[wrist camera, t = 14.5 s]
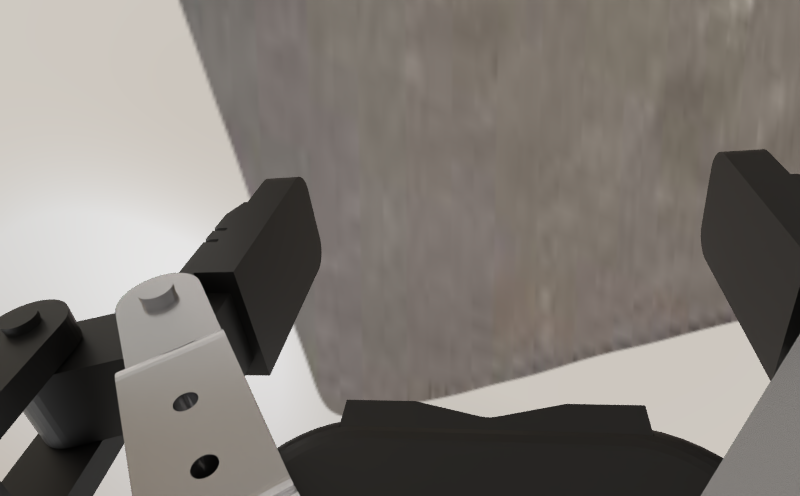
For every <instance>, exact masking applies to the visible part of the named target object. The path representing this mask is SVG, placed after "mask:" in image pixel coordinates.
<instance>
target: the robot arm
mask: <svg viewBox="0 0 800 496" xmlns="http://www.w3.org/2000/svg"><path fill="white" fill-rule="evenodd" d="M701 244H702V251H703V255H704V257H705V260H706V262H707V263H708V265H709V267H710V269H711V271H712V273H713V275H714V276H715V278H716V280H717V282H718V284H719V286H720V288H721V289H722V291H723V293H724V295H725V297H726V299H727V301H728V302H729V304H730V306H731V308H732V310H733V312H734V314H735V316H736V317H737V319H738V321H739V323H740V325H741V326H742V329H743V330H744V332H745V334H746V336H747V338H748V340H749V342H750V343H751V345H752V347H753V349H754V351H755V353H756V354H757V356H758V358H759V360H760V362H761V364H762V366H763V368H764V369H765V371H766V373H767V375H768V377H769V379H770V381H771V382H770V384H769V385H768V387H767V388H766V390H765V392H764V393H763V395H762V397H761V398H760V400H759V401H758V403H757V405H756V406H755V408H754V410H753V411H752V413H751V415H750V416H749V418H748V419H747V421H746V423H745V424H744V426H743V427H742V429H741V431H740V432H739V434H738V436H737V437H736V439H735V441H734V442H733V444H732V445H731V447H730V449H729V450H728V452H727V454H726V455H725V457H724V458H722V457H720V456H718V455H716V454H714V453H712V452H710V451H709V450H706V449H705V448H703V447H701V446H698V445H696V444H693V443H691V442H689V441H686V440H684V439H681V438H678V437H675V436H672V435H669V434H666V433H662V432H657V431H653V430H652V429H651V425H650V421H649V418H648V414H647V410H646V407H645V406H641V405H639V406H638V405H586V404H564V405H559V406H553V407H548V408H543V409H537V410H531V411H526V412H521V413H515V414H510V415H505V416H499V417H492V418H489V417H486V418H485V417H479V416H475V415H471V414H467V413H463V412H459V411H454V410H450V409H446V408H442V407H437V406H433V405H429V404H425V403H420V402H416V401H377V400H347V402H346V405H345V409H344V412H343V416H342V419H341V422H338V423H333V424H330V425H326V426H323V427H320V428H317V429H314V430H311V431H309V432H306V433H304V434H302V435H300V436H298V437H296V438H294V439H292V440H290V441H288V442H286V443H285V444H283V445H281V446H280V447H278V448H277V447H276V445H275V443H274V440H273V438H272V436H271V434H270V432H269V429H268V427H267V425H266V423H265V420H264V419H263V416H262V414H261V412H260V409H259V407H258V405H257V403H256V401H255V398H254V396H253V394H252V392H251V389H250V387H249V385H248V383H247V381H246V379H245V375H270V374H271V371H272V369H273V367H274V365H275V363H276V361H277V359H278V357H279V354H280V352H281V350H282V348H283V346H284V344H285V341H286V339H287V337H288V335H289V333H290V331H291V328H292V326H293V324H294V322H295V320H296V318H297V315H298V313H299V311H300V309H301V307H302V304H303V302H304V300H305V298H306V296H307V294H308V291H309V289H310V287H311V285H312V283H313V281H314V278H315V276H316V274H317V272H318V270H319V267H320V263H321V242H320V237H319V233H318V229H317V225H316V221H315V217H314V213H313V209H312V204H311V200H310V196H309V192H308V188H307V185H306V183H305V181H304V180H303V179H302V178H301V177H291V178H275V179H266V180H265V181H264V182H263V183H262V184H261V186H260V187H259V188H258V190H257V191H256V192H255V193H254V195H253V196H252V197H251V199H250V200H249V201H248V202H244V203H243V204H241V205H240V206H239V207H237V208H235V209H234V210H232V211H231V212H229V213H228V214H226V215H225V217H224V218H223V219H222V220H221V221H220V223H219V224H218V225H217V226H216V228H215V231H212V233H211V234H210V235H209V236H208V237H207V239H206V242H205V243H203V244H202V245H201V246H200V247H199V249H198V250H197V251H196V253H195V254H194V255H193V256H192V257H191V258H190V260H189V261H188V262H187V263H186V265H185V266H184V267H183V268H182V270H181V271H180V272H179V273H171V274H166V275H161V276H158V277H155V278H152V279H150V280H147V281H145V282H143V283H141V284H139V285H137V286H136V287H134V288H133V289H131V290H130V291H128V292H127V293H126V294H125V295H124V296H123V297H122V298H121V299H120V301H119V302H118V304H117V306H116V309H115V314H110V315H106V316H101V317H97V318H92V319H88V320H84V321H79V322H76V320H75V318H74V316H73V315H72V313H71V311H70V309H69V307H68V306H67V304H66V303H64V302H63V301H60V300H42V301H37V302H33V303H29V304H26V305H24V306H21V307H18V308H16V309H14V310H12V311H10V312H8V313H6V314H4V315H2V316H1V317H0V439H1V437H2V436H3V435H4V434H5V433H6V431H7V430H8V429H9V428H10V426H11V425H12V424H13V423H14V422H15V421H16V419H17V418H18V417H19V416H20V414H21V413H22V412H24V414H25V415H26V416H27V418H28V419H29V421H30V422H31V423H32V425H33V426H34V428H35V429H36V430H37V432H38V435H37V436H36V437H35V439H34V440H33V441H32V443H31V444H30V445H29V446H28V448H27V449H26V450H25V452H24V453H23V454H22V456H21V457H20V458H19V460H18V461H17V462H16V464H15V465H14V466H13V467H12V469H11V470H10V472H9V473H8V474H7V476H6V477H5V478H4V480H3V481H2V482H0V496H93V495H94V493H95V491H96V489H97V488H98V486H99V485H100V483H101V481H102V480H103V478H104V476H105V475H106V473H107V471H108V469H109V468H110V466H111V465H112V463H113V461H114V460H115V458H116V456H117V454H118V453H119V451H120V449H121V448H122V446H123V444H125V451H126V457H127V463H128V471H129V478H130V484H131V491H132V496H800V174H790V173H789V172H788V171H787V170H786V169H785V168H784V167H783V166H782V165H781V164H780V163H779V162H778V161H777V160H776V159H775V158H774V157H773V156H772V155H771V154H770V153H769V152H768V151H767V150H765V149H762V150H746V151H730V152H719V153H718V154H717V155H716V156H715V158H714V160H713V164H712V168H711V174H710V180H709V186H708V191H707V197H706V203H705V209H704V215H703V221H702V227H701Z"/></svg>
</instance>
